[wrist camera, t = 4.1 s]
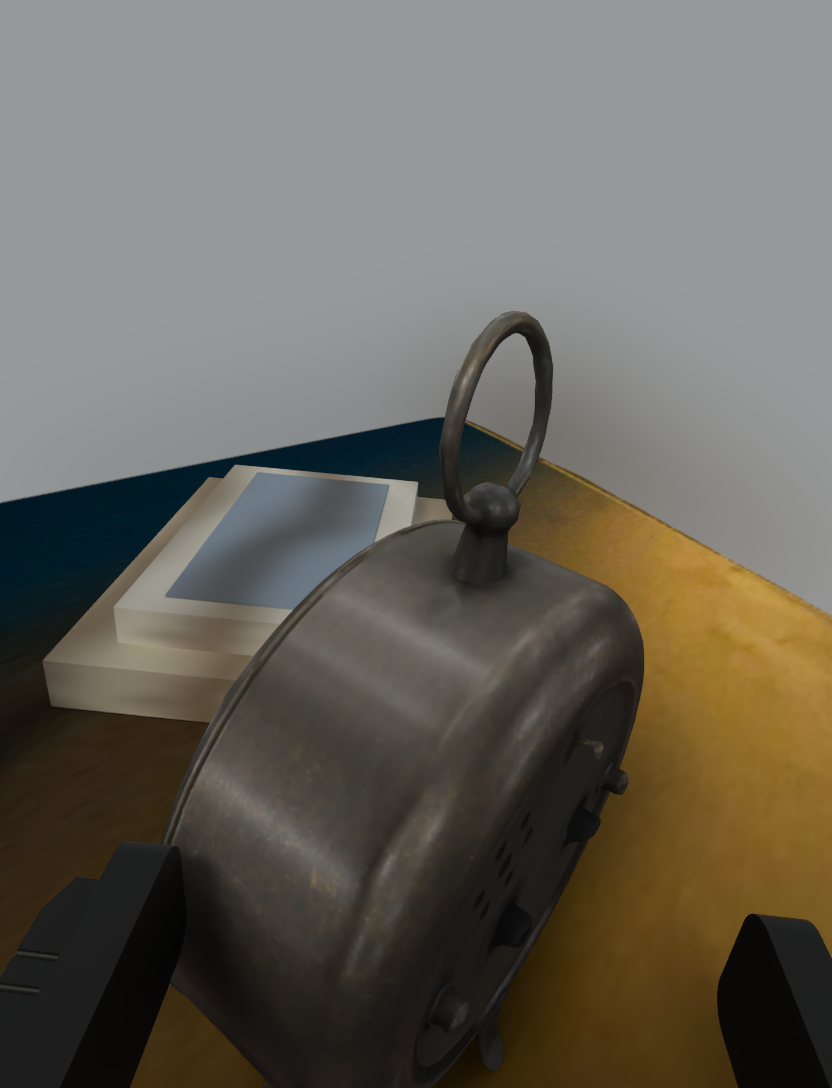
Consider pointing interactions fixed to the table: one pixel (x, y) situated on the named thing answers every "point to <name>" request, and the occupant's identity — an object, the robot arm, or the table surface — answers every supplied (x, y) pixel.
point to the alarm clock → (404, 787)
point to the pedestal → (221, 587)
